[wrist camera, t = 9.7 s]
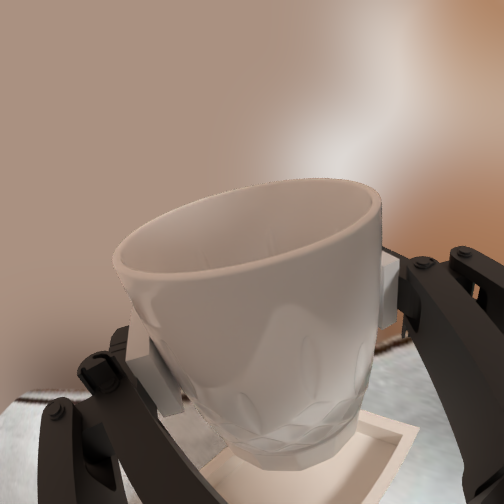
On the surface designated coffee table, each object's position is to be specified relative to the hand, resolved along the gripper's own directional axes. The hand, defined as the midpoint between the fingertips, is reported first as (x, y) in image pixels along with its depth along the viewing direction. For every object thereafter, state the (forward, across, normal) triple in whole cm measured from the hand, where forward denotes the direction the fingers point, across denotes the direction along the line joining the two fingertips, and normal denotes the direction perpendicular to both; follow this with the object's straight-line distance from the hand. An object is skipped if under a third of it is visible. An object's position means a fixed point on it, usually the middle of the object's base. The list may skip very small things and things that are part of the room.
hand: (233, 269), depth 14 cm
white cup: (-5, 0, -6) cm, 8 cm away
